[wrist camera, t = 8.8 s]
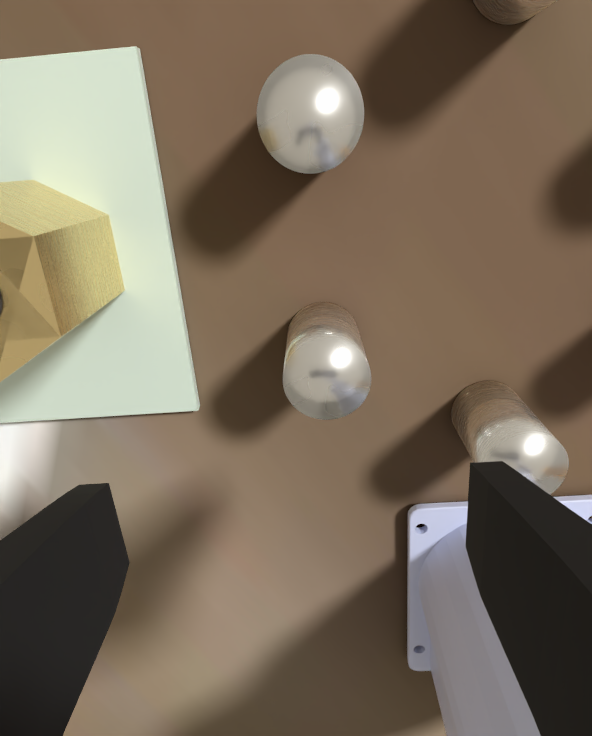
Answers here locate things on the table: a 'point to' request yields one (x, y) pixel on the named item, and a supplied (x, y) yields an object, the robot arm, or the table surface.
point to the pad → (130, 231)
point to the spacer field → (334, 323)
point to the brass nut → (50, 268)
